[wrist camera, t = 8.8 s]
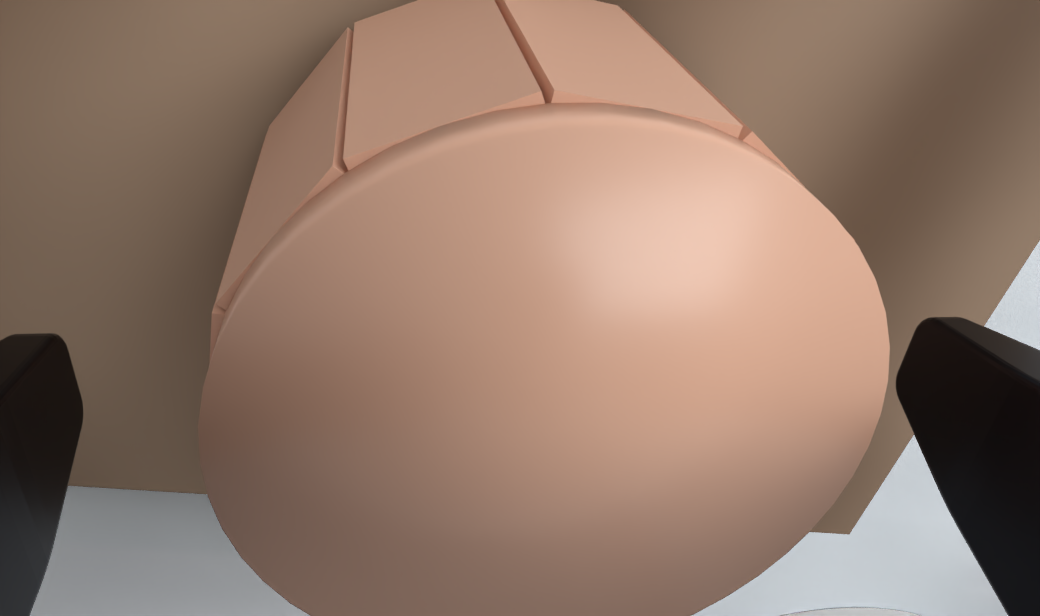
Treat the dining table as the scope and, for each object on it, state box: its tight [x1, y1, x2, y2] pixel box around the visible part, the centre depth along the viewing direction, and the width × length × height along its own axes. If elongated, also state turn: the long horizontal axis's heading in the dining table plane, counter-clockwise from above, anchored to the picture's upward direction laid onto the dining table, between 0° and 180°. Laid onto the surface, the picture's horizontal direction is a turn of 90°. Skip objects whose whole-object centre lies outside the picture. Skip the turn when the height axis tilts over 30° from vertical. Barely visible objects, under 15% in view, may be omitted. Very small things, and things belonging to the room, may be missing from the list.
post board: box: [0, 0, 1040, 534], centre depth 10 cm, size 18×12×6 cm, turn 76°
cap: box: [198, 0, 890, 616], centre depth 9 cm, size 6×6×4 cm
